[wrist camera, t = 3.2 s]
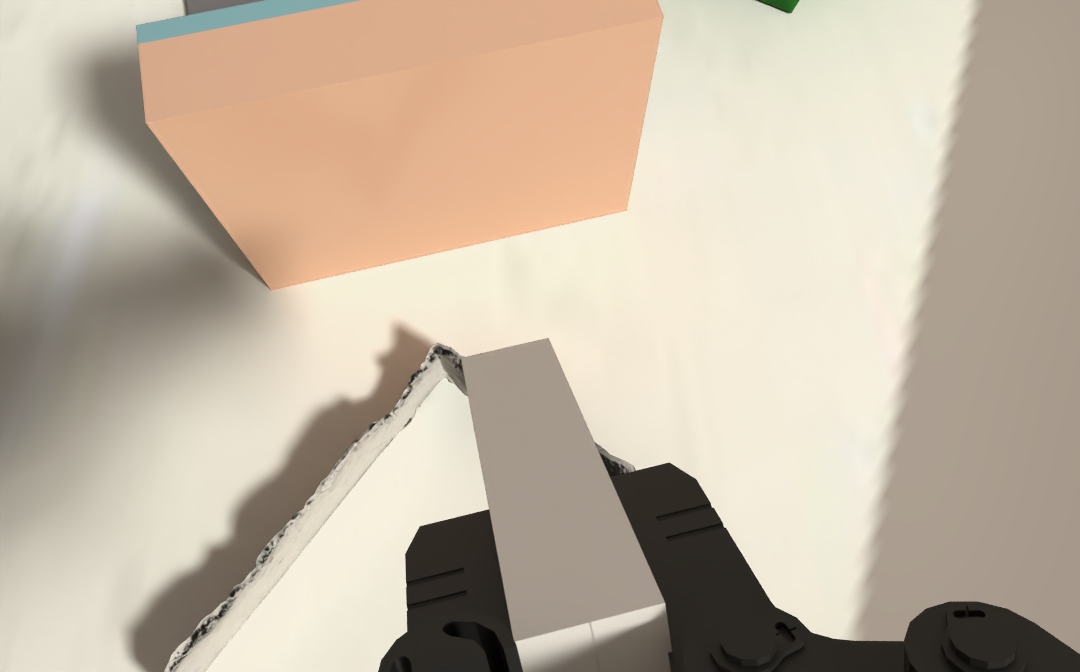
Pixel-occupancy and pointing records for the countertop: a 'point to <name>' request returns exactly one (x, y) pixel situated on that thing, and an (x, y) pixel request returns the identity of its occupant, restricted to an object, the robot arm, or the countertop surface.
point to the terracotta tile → (399, 121)
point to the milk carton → (782, 4)
